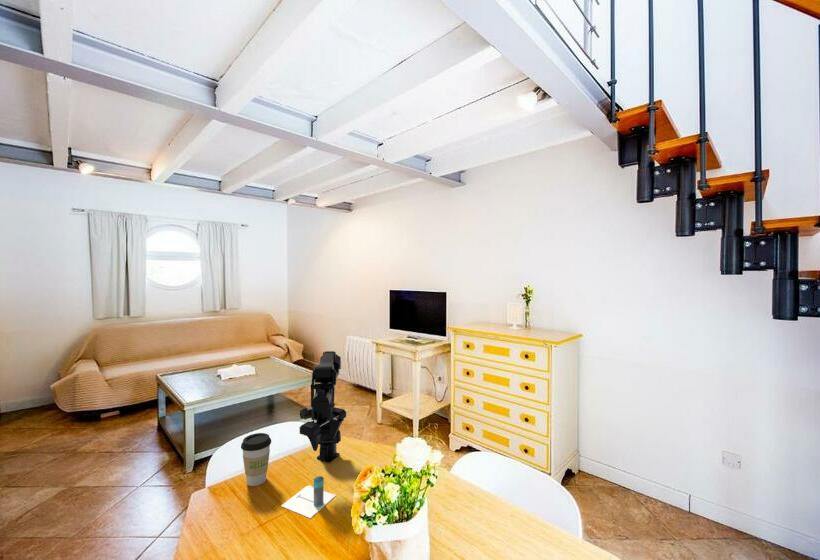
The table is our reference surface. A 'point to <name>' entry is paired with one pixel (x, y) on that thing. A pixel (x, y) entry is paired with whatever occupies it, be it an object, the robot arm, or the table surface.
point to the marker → (318, 491)
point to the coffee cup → (256, 457)
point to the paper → (306, 502)
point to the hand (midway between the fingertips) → (324, 444)
